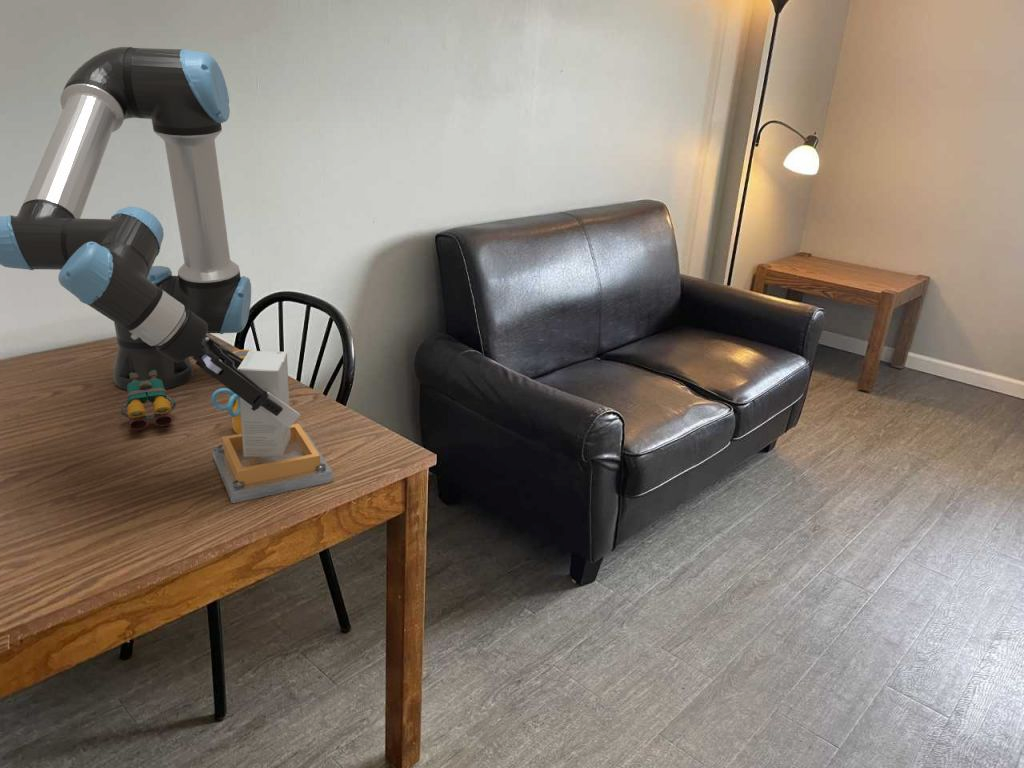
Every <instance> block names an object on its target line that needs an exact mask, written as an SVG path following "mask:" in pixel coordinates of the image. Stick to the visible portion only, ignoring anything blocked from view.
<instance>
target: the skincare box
mask: <svg viewBox="0 0 1024 768" xmlns="http://www.w3.org/2000/svg"><path fill="white" fill-rule="evenodd" d="M288 365H289V364H288V352H287V351H269V350H268V351H263V350H252V351H249V352H248V353H247V355H246V356H245V358H244V360H243V361H242V363H241V364H240V366H239V367H238V370H239V371H241V372H242V373H243V374H244V375H245V376H247V377H248V378H249V379H250V380H252V381H253V382H254V383H255V384H256V385H258V386H259V387H260V388H261V389H263V390H264V391H266V392H269V393H271V394H272V395H274V396H275V397H276V398H278V399H279V400H281V401H282V402H284V403H285V404H286V405H288V406H289V407H290V392H289V390H290V389H289V371H288V369H289V368H288ZM251 408H252V406H251V405H250V404H249V403H247V402H246V401H245V400H243V399H242V398H241V397H240V412H241V426H242V440H243V455H244V457H283V455H284V452H285V450H286V447H287V445H288V442H289V439H290V437H291V432H290V428H288V427H287V426H285V425H284V424H282V423H281V422H279V421H278V420H276V419H275V418H273V417H272V416H270V415H269V414H267V413H266V412H264V411H263V410H261V409H260V408H258V409H256V410H255V411H253V410H252V409H251Z"/></svg>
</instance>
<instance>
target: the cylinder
mask: <svg viewBox="0 0 1024 768" xmlns="http://www.w3.org/2000/svg"><path fill="white" fill-rule="evenodd" d="M249 351H253V350H251V349H238V350H235V351H231V352H232V353H234V354H236V355H237V356H239V357H240V358H243V359H244V358H245V356H246V355H247V353H248V352H249ZM222 393H226V394H229V396H230V397H229V399H228V403H227V404H226V405H221V404H219V403H218V401H217V397H218V395H220V394H222ZM210 398H211V399H210V401H211V405H213V407H214V408H215V409H218V410H220V411H226V410H227V412H228V414H229V416H230V417H231V424H232V430H233V432H234V433H235V434H242V426H241V412H240V397H239V396H238V395H237V394H235V393H234V392H233V391H231V390H230V389H229V388H227V387H223V388H222V387H221V388H218V389H216V390H215V391H214V392H213V393H212V395H211V397H210Z"/></svg>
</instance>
